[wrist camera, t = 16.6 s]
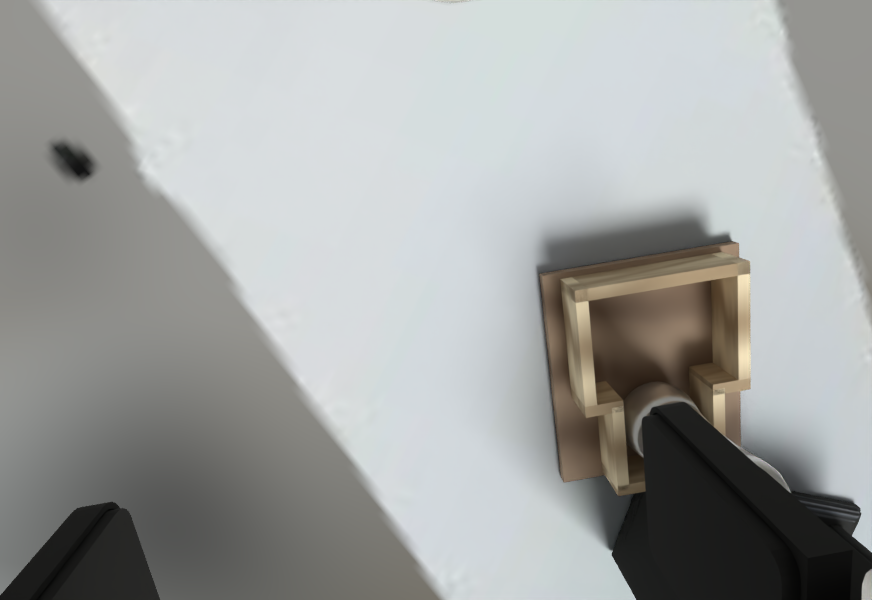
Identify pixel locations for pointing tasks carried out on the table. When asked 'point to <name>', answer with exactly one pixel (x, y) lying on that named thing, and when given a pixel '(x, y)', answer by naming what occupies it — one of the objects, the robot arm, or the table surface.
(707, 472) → the robot arm
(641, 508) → the black drawer cabinet
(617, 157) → the table surface
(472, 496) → the table surface
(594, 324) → the keyhole plate
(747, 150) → the table surface
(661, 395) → the plastic bottle
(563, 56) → the table surface
